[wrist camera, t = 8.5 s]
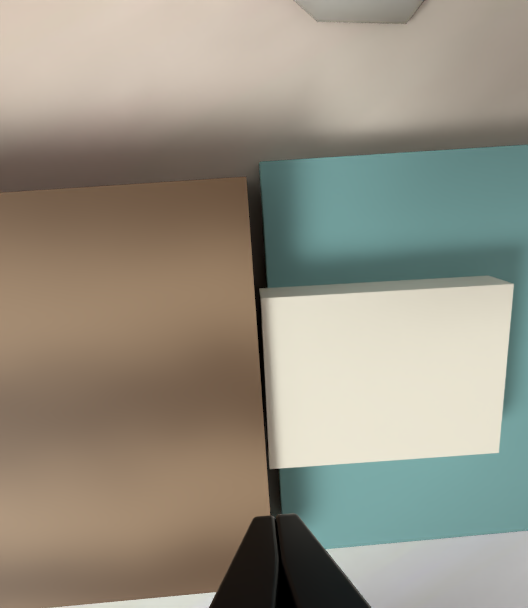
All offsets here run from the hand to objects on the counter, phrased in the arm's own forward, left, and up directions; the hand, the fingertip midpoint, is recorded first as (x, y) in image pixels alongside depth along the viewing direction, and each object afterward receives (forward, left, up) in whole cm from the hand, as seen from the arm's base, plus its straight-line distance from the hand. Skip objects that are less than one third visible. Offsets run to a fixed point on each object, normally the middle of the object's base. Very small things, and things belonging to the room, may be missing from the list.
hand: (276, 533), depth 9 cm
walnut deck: (0, +6, -9) cm, 11 cm away
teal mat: (0, -6, -9) cm, 11 cm away
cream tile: (0, -4, -8) cm, 9 cm away
